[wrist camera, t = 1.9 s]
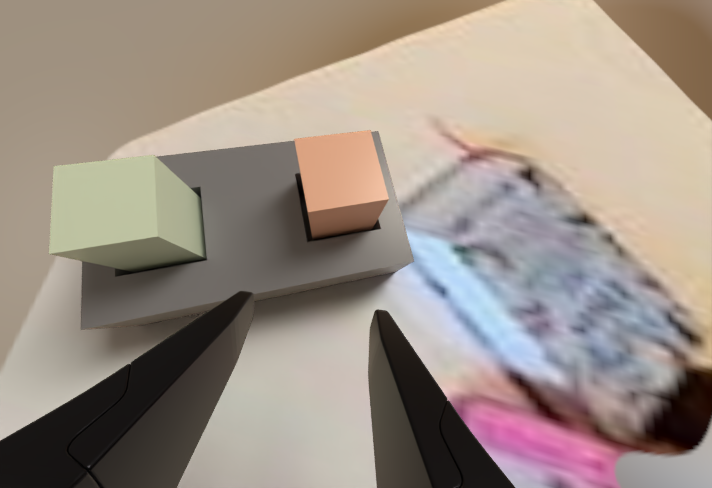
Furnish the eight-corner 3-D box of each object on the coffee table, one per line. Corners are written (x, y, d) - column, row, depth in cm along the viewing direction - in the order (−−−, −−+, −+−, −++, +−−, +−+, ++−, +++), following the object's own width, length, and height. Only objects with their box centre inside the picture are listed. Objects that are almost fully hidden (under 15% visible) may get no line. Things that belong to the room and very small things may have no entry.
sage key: (206, 258, 18) (157, 236, 13) (133, 271, 17) (48, 253, 12) (201, 198, 19) (153, 154, 14) (131, 208, 18) (53, 166, 13)
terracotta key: (372, 229, 20) (389, 199, 15) (312, 239, 19) (307, 212, 14) (359, 175, 21) (370, 130, 16) (302, 184, 20) (294, 138, 15)
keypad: (395, 271, 23) (414, 261, 19) (139, 325, 20) (80, 329, 15) (368, 164, 26) (378, 131, 21) (135, 196, 23) (84, 164, 18)
